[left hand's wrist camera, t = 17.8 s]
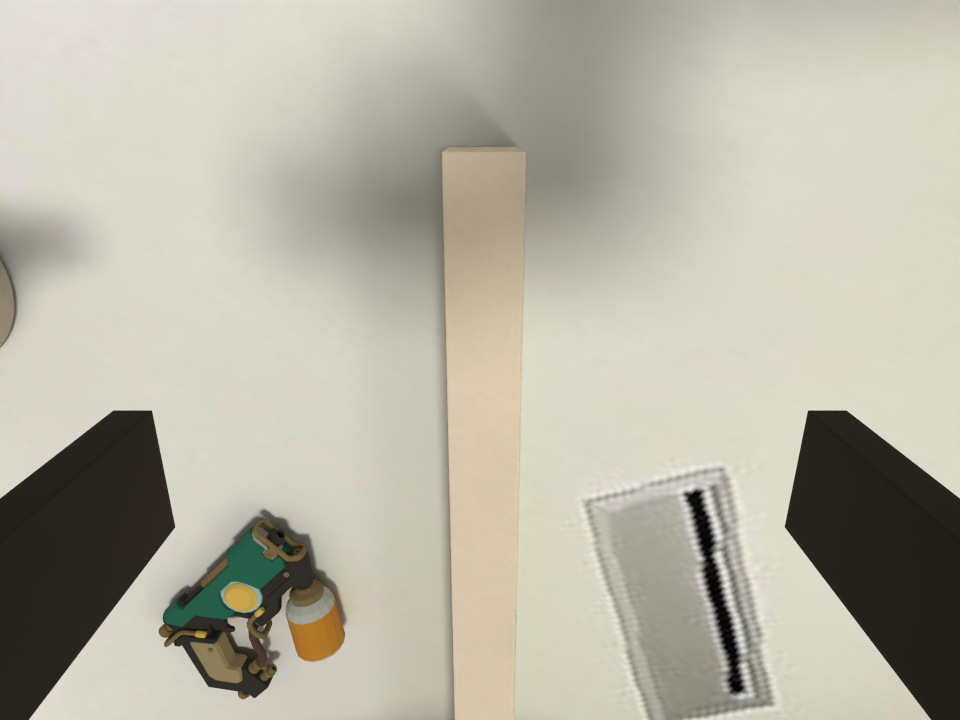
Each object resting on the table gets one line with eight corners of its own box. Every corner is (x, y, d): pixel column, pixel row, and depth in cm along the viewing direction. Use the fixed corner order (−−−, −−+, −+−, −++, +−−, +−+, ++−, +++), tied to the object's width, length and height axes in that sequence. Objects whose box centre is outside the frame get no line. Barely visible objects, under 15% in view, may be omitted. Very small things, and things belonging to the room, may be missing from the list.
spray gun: (236, 685, 60) (137, 570, 56) (381, 627, 57) (286, 498, 52) (215, 725, 56) (107, 604, 52) (370, 665, 53) (266, 529, 48)
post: (448, 146, 43) (441, 151, 35) (517, 146, 43) (526, 151, 35) (460, 749, 63) (457, 839, 55) (507, 749, 63) (511, 840, 55)
